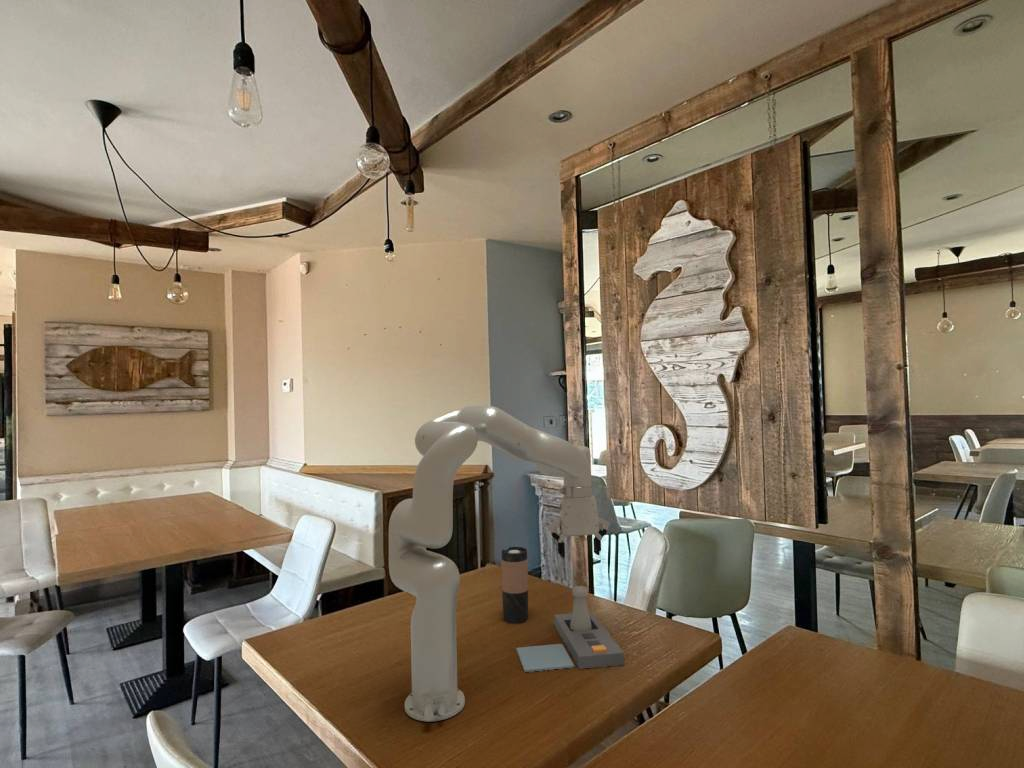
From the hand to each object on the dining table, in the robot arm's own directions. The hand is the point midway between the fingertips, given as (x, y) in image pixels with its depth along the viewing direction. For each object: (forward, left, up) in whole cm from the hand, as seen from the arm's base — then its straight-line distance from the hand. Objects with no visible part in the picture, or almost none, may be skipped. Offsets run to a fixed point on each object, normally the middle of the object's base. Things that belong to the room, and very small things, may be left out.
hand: (579, 555), depth 151 cm
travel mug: (+15, +16, -22) cm, 31 cm away
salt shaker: (0, 0, -22) cm, 22 cm away
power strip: (-5, 0, -22) cm, 22 cm away
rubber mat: (-11, +13, -22) cm, 27 cm away
